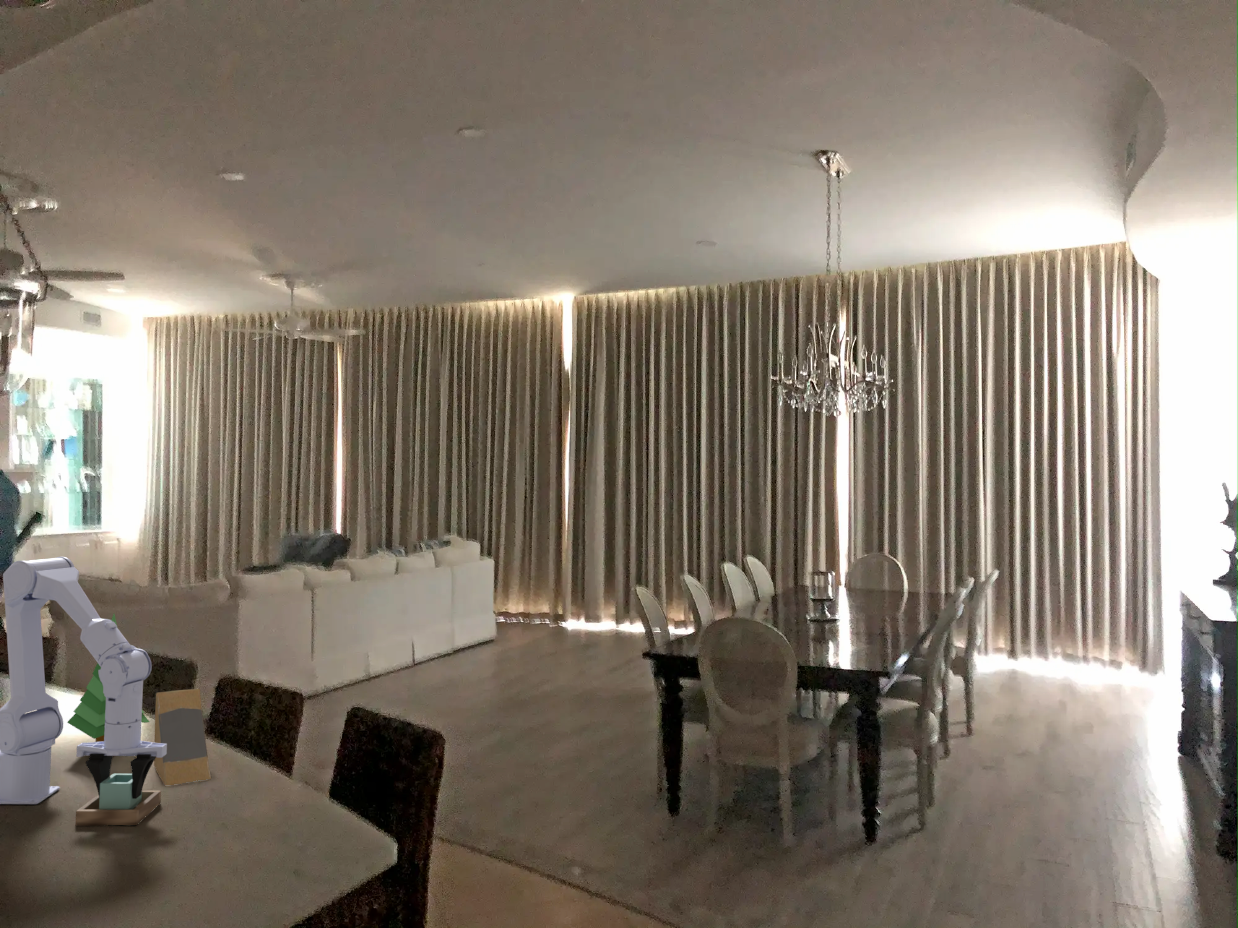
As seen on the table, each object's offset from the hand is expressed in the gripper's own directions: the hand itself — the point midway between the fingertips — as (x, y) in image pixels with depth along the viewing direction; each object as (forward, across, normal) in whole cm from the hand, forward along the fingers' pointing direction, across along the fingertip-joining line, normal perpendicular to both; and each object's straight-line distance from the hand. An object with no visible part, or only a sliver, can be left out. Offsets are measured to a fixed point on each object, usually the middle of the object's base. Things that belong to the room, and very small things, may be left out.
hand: (120, 796), depth 159 cm
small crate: (+2, 0, 0) cm, 2 cm away
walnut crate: (+3, 0, 0) cm, 3 cm away
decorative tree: (+3, -17, +33) cm, 37 cm away
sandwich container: (+4, +2, +22) cm, 23 cm away
